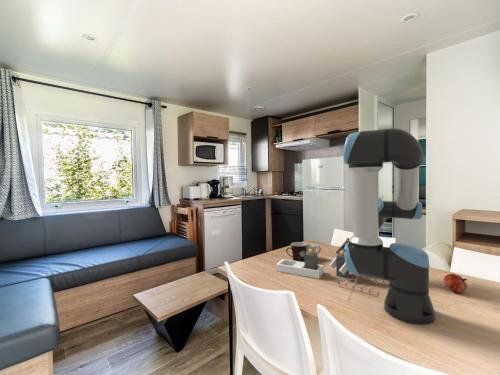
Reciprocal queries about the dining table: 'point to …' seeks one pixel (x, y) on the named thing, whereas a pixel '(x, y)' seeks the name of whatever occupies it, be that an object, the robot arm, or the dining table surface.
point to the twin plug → (311, 260)
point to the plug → (339, 263)
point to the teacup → (312, 246)
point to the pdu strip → (298, 268)
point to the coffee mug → (298, 251)
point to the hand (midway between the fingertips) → (336, 269)
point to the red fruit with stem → (455, 283)
